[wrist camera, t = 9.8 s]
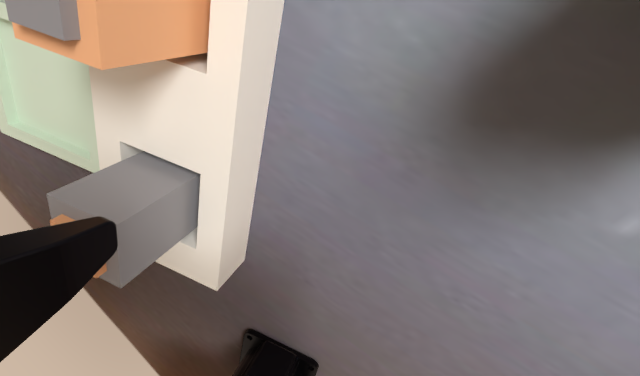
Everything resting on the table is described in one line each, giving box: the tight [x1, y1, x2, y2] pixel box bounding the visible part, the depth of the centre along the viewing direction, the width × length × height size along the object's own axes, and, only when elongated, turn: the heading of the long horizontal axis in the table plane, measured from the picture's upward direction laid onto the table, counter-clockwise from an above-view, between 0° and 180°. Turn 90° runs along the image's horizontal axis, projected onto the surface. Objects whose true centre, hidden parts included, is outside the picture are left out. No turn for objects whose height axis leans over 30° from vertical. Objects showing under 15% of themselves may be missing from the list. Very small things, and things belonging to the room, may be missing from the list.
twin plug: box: [47, 151, 201, 288], centre depth 20 cm, size 4×4×9 cm
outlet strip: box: [89, 0, 284, 291], centre depth 20 cm, size 22×9×4 cm, turn 166°
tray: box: [0, 0, 100, 173], centre depth 25 cm, size 10×10×1 cm
